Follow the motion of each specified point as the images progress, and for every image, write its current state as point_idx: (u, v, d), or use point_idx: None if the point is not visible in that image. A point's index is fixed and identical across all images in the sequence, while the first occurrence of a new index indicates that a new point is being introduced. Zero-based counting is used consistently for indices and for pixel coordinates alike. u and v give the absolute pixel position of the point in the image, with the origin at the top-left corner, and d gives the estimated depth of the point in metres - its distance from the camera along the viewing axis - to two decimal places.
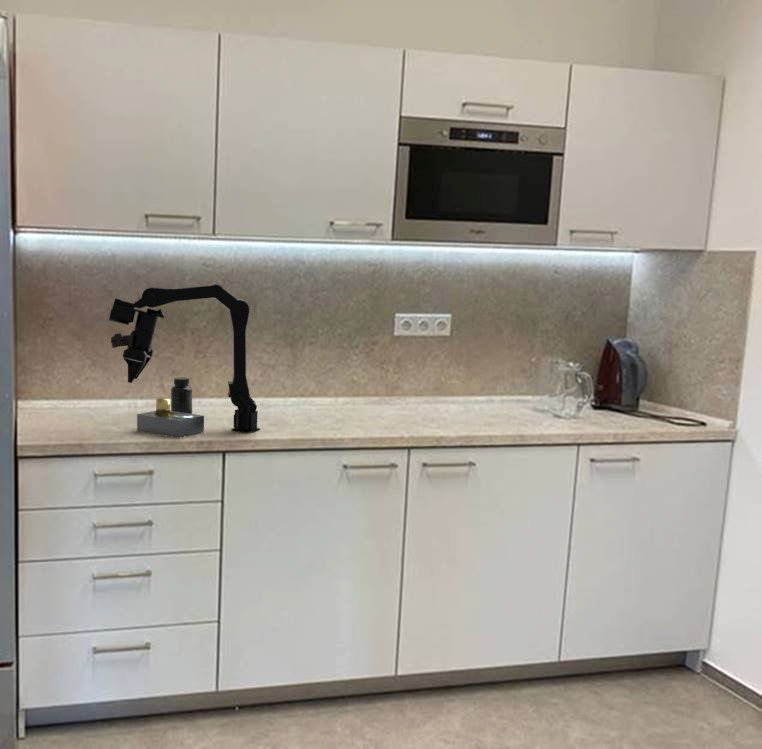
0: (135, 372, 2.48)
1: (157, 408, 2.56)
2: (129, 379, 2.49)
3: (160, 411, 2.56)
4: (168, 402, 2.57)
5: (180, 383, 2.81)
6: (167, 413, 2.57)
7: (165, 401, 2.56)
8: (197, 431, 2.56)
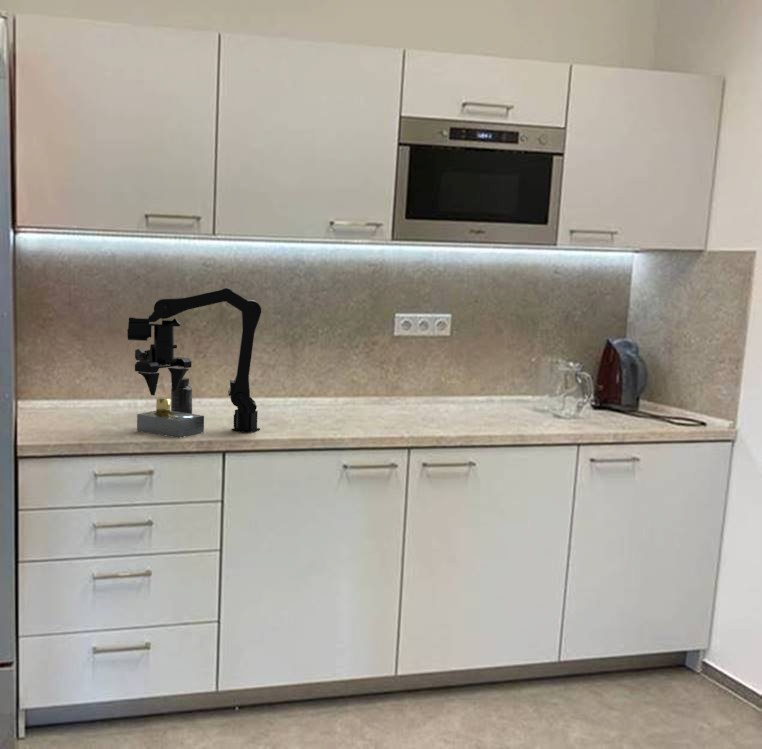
0: (152, 384, 2.51)
1: (157, 408, 2.56)
2: (151, 392, 2.53)
3: (161, 411, 2.56)
4: (168, 402, 2.57)
5: (180, 383, 2.81)
6: (167, 413, 2.57)
7: (165, 401, 2.56)
8: (197, 431, 2.56)
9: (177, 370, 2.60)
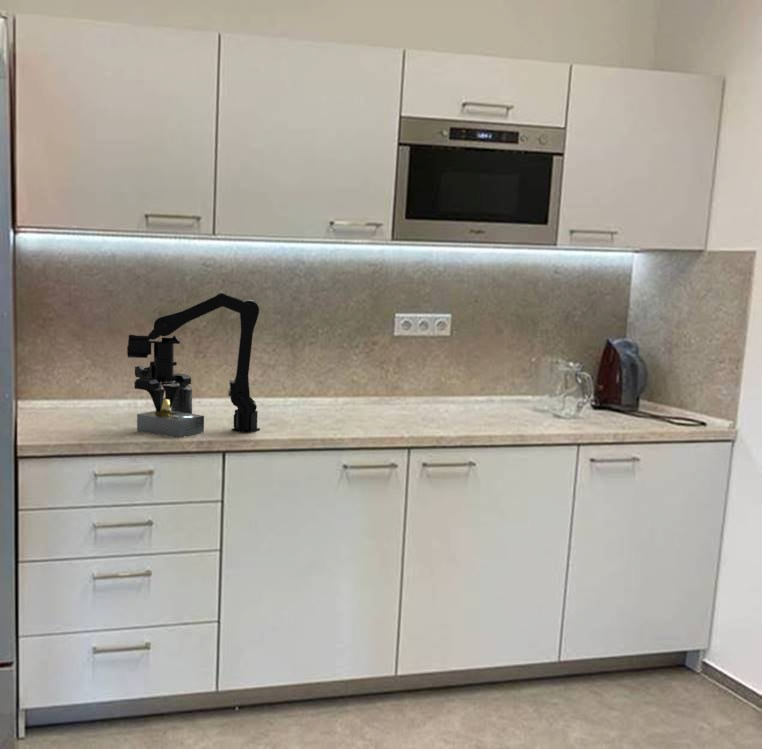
0: (157, 400, 2.54)
1: None
2: (156, 408, 2.55)
3: (160, 411, 2.56)
4: (168, 402, 2.57)
5: (180, 383, 2.81)
6: (167, 413, 2.57)
7: (165, 401, 2.56)
8: (197, 431, 2.56)
9: (171, 388, 2.59)
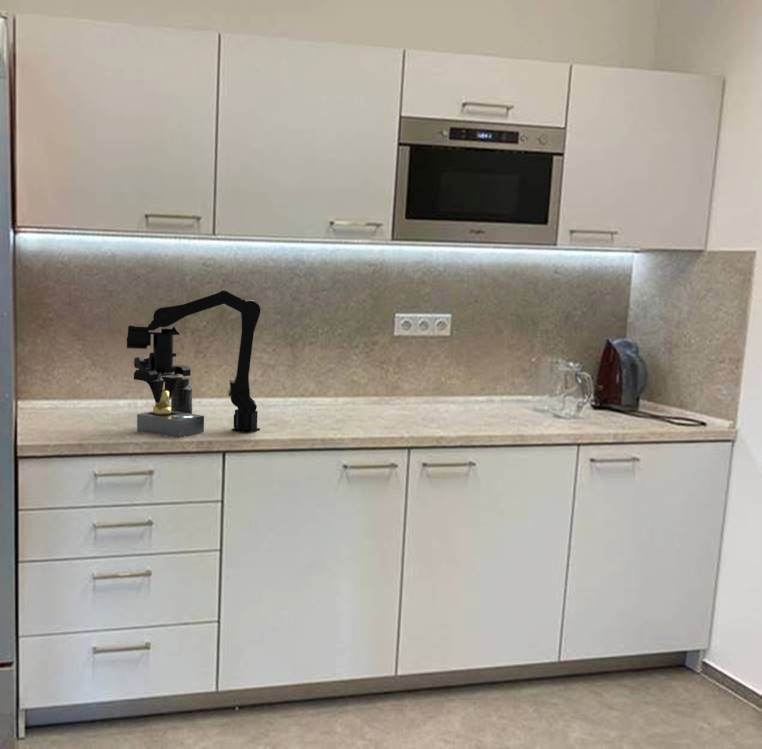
0: (157, 392, 2.53)
1: None
2: (155, 399, 2.55)
3: (160, 402, 2.55)
4: (167, 393, 2.56)
5: (180, 383, 2.81)
6: (167, 404, 2.56)
7: (164, 392, 2.55)
8: (197, 431, 2.56)
9: (171, 379, 2.58)
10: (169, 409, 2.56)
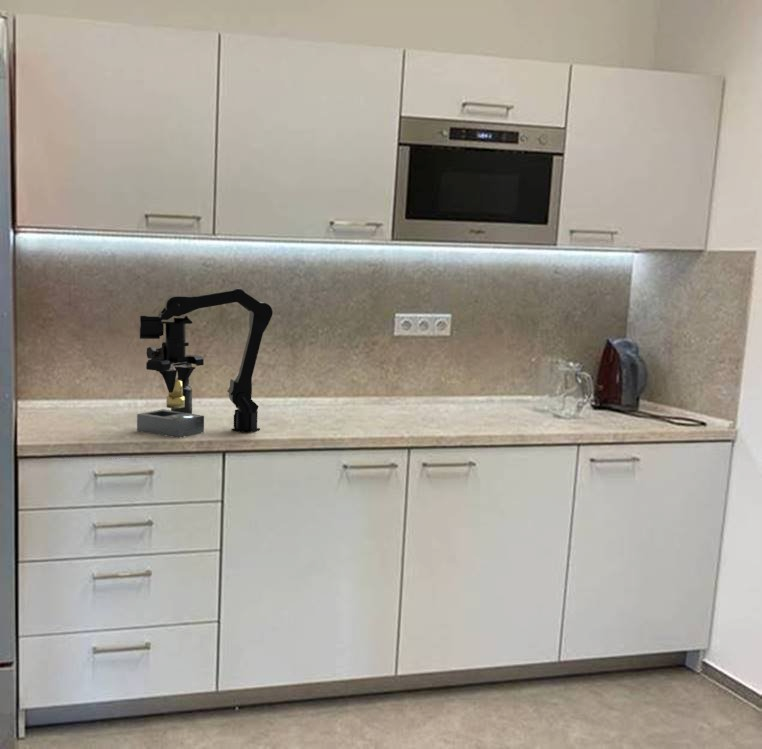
0: (170, 381, 2.51)
1: None
2: (169, 389, 2.53)
3: (173, 392, 2.53)
4: (180, 383, 2.54)
5: None
6: (180, 394, 2.54)
7: (177, 382, 2.53)
8: (197, 431, 2.56)
9: (184, 369, 2.56)
10: (182, 399, 2.54)
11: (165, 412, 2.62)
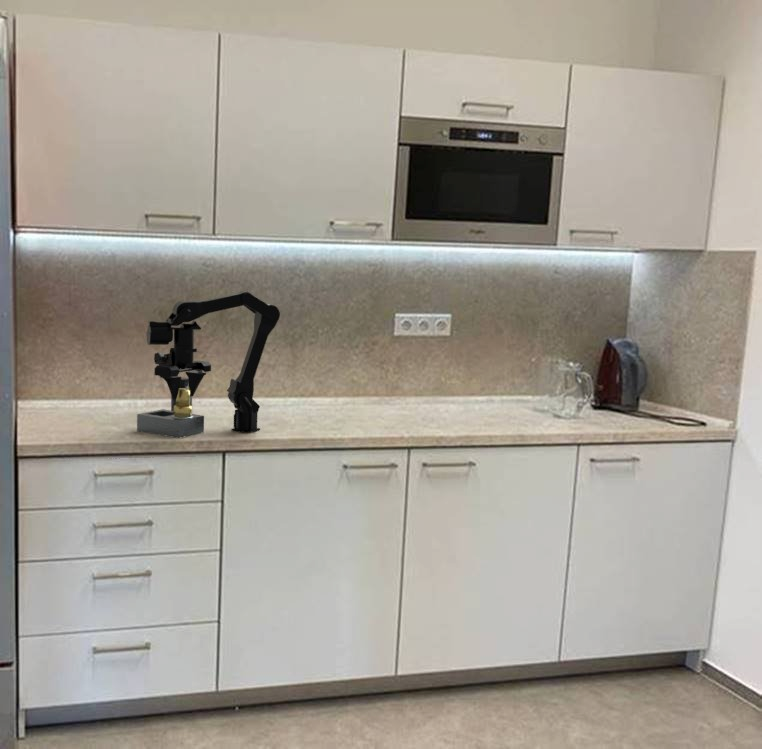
0: (174, 388, 2.48)
1: (177, 399, 2.52)
2: (172, 396, 2.50)
3: (181, 402, 2.52)
4: (188, 392, 2.53)
5: (180, 383, 2.81)
6: (187, 403, 2.53)
7: (185, 391, 2.52)
8: (197, 431, 2.56)
9: (195, 374, 2.56)
10: (190, 408, 2.53)
11: (165, 412, 2.62)
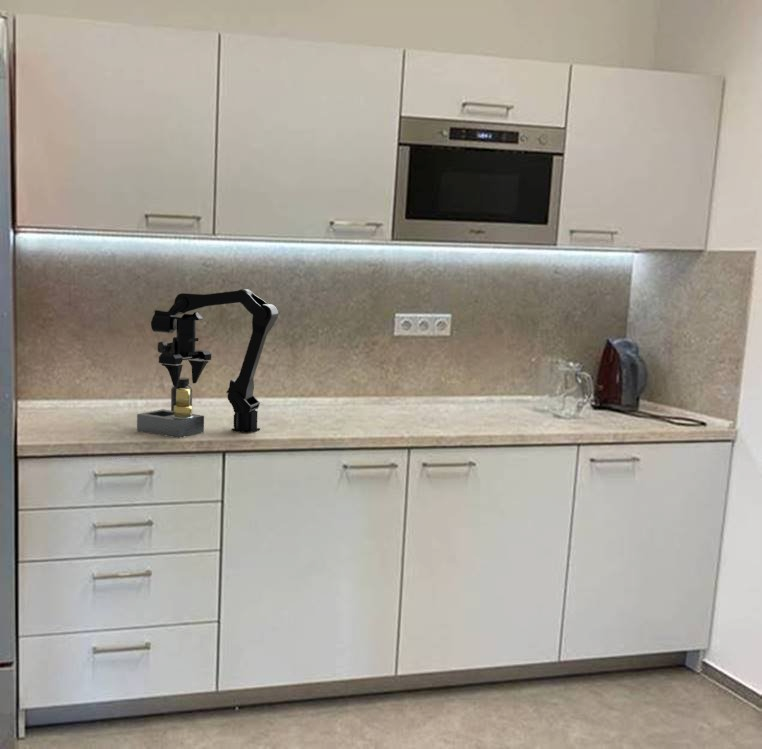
0: (175, 376, 2.59)
1: (177, 398, 2.52)
2: (174, 383, 2.61)
3: (181, 402, 2.52)
4: (188, 392, 2.53)
5: (180, 383, 2.81)
6: (187, 403, 2.53)
7: (185, 391, 2.52)
8: (197, 431, 2.56)
9: (198, 362, 2.69)
10: (190, 408, 2.53)
11: (165, 412, 2.62)
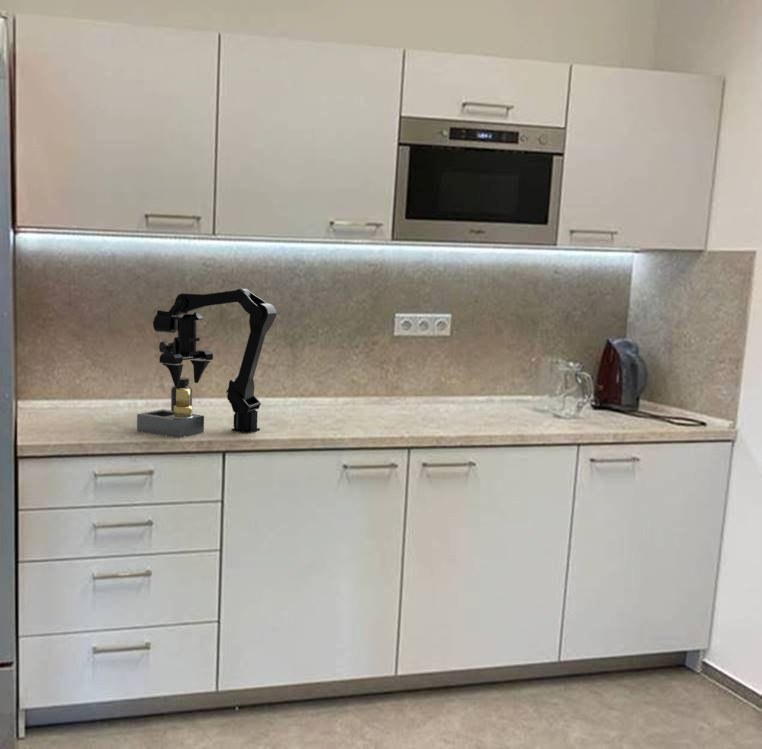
0: (176, 375, 2.61)
1: (177, 399, 2.52)
2: (174, 383, 2.63)
3: (181, 402, 2.52)
4: (188, 392, 2.53)
5: (180, 383, 2.81)
6: (187, 403, 2.53)
7: (185, 391, 2.52)
8: (197, 431, 2.56)
9: (199, 362, 2.71)
10: (190, 408, 2.53)
11: (165, 412, 2.62)
